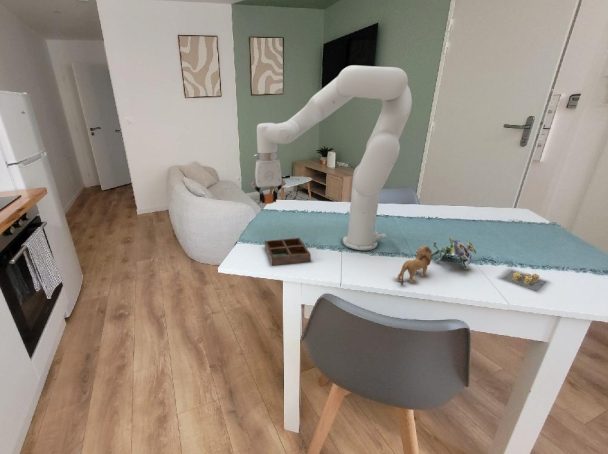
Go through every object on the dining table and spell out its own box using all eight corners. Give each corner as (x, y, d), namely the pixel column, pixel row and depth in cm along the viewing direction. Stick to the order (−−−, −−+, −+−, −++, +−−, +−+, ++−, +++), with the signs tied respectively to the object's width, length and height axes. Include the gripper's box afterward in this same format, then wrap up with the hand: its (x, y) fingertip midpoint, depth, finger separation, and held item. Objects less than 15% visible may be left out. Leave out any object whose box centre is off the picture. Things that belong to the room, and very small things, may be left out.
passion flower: (460, 282, 96) (479, 268, 86) (424, 271, 99) (438, 256, 89) (463, 253, 101) (482, 237, 90) (429, 243, 104) (443, 226, 94)
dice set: (538, 280, 86) (540, 275, 85) (531, 286, 83) (534, 281, 83) (516, 273, 90) (518, 268, 89) (510, 279, 87) (511, 273, 87)
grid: (299, 244, 115) (299, 237, 114) (310, 261, 102) (310, 254, 101) (264, 248, 114) (264, 240, 112) (271, 265, 101) (271, 257, 100)
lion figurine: (414, 265, 97) (419, 241, 93) (431, 272, 93) (437, 246, 89) (392, 283, 88) (397, 257, 85) (411, 290, 84) (416, 263, 81)
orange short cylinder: (272, 200, 121) (272, 193, 120) (274, 203, 117) (274, 196, 116) (262, 200, 121) (262, 194, 120) (264, 204, 117) (263, 197, 116)
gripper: (246, 159, 108) (249, 206, 115) (291, 156, 109) (290, 202, 116) (244, 156, 115) (247, 200, 122) (286, 153, 116) (286, 197, 123)
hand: (268, 201), depth 119 cm, fingers closed on orange short cylinder, 4 cm apart
